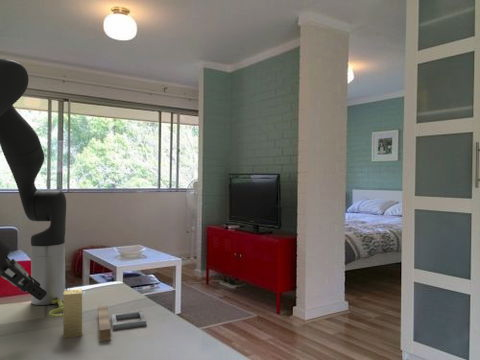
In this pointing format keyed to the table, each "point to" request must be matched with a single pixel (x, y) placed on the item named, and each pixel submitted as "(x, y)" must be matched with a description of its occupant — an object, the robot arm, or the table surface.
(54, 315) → the key
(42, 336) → the table surface
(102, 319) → the brown square bar
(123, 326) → the keeper
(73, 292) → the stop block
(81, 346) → the table surface
